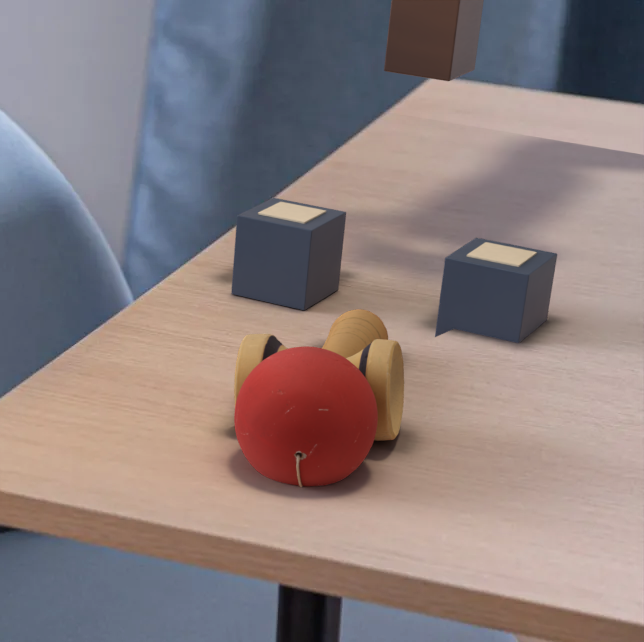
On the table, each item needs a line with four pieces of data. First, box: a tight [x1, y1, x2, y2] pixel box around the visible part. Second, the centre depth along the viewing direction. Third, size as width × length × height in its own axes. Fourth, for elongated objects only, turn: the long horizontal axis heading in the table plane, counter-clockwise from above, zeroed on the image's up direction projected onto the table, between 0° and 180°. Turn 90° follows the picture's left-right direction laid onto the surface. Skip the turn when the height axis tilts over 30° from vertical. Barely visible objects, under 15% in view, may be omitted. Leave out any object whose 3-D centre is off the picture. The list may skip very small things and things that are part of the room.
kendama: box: [233, 308, 405, 488], centre depth 80 cm, size 8×6×18 cm
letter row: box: [230, 197, 558, 344], centre depth 95 cm, size 16×4×5 cm, turn 59°
